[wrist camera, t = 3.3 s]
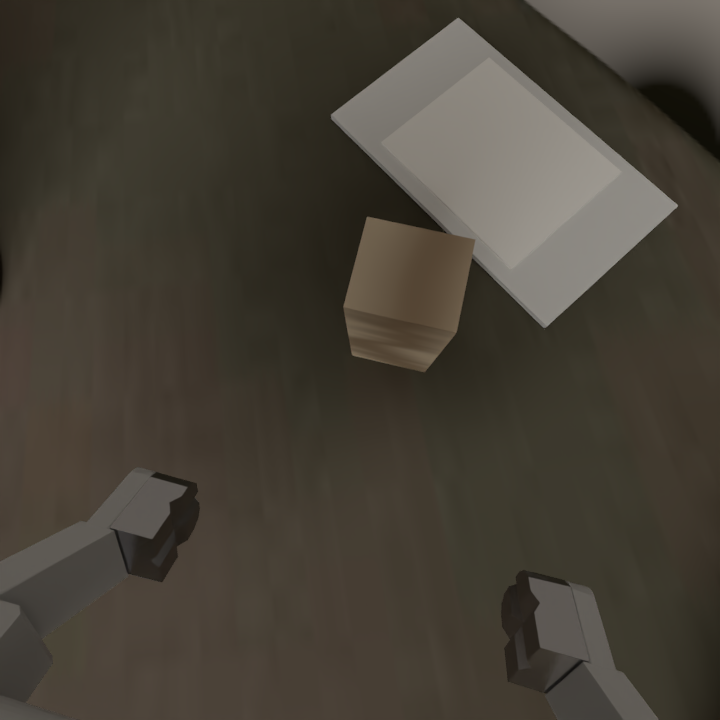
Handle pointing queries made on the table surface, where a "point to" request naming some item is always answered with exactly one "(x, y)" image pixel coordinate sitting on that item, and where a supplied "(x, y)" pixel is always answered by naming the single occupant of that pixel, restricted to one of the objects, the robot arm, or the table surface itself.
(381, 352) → the wooden block
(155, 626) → the table surface
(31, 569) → the robot arm
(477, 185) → the grey mat
